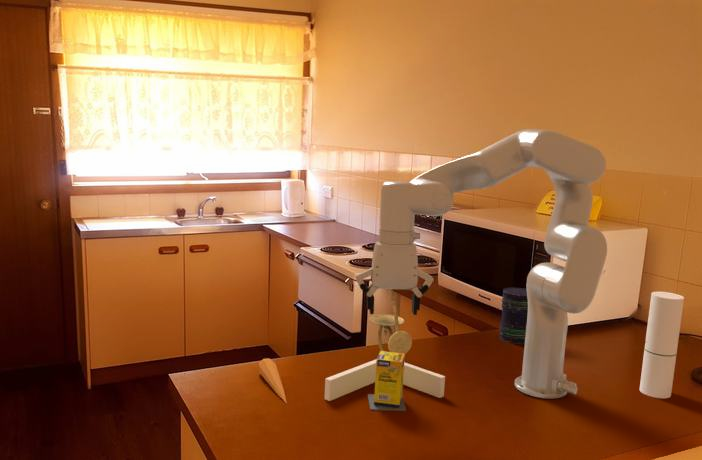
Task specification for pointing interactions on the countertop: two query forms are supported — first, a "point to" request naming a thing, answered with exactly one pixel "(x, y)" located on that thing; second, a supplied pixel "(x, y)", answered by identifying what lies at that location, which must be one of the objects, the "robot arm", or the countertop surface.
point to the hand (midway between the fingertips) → (392, 312)
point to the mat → (384, 408)
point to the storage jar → (514, 315)
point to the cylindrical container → (661, 344)
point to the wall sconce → (396, 341)
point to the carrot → (272, 377)
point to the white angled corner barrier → (367, 375)
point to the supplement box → (389, 379)
